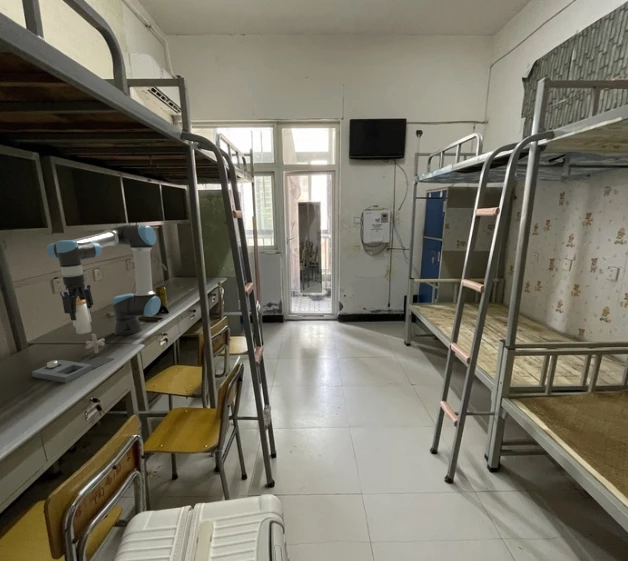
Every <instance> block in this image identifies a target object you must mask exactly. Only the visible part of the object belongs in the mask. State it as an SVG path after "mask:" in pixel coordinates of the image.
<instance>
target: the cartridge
mask: <svg viewBox="0 0 628 561" xmlns="http://www.w3.org/2000/svg"><path fill="white" fill-rule="evenodd" d="M76 313H78V317H79V322H80V327H75V331H76V334H77V335H83V334H84V335H85V334H88V333H90V332H91V331H92V324H91V322H90V320H89V315H88V310H87V304H86V300H85V299H80V298H79V299H78V298H77V299H76Z"/></svg>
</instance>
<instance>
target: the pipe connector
mask: <svg viewBox="0 0 628 561" xmlns="http://www.w3.org/2000/svg"><path fill="white" fill-rule="evenodd" d="M97 338H98V337H97V334H96V333H92V334H91V339H92V340H87V341H85V350H89V349H91V348H93V352H94V354H99V352H100V351H99V350H100V349H99V347H100V346H101V347H104V346H105V345H106V343H105V341H106V340H105V338H104V337H102V338H100V339H97Z"/></svg>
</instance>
